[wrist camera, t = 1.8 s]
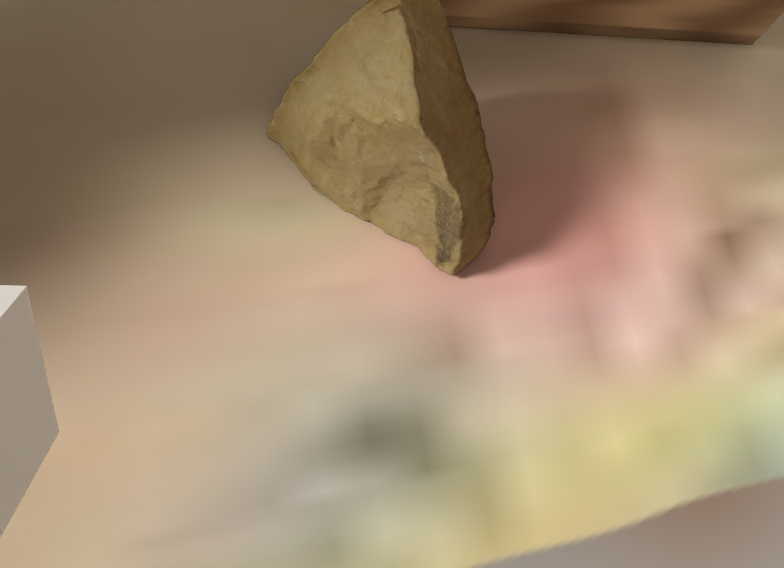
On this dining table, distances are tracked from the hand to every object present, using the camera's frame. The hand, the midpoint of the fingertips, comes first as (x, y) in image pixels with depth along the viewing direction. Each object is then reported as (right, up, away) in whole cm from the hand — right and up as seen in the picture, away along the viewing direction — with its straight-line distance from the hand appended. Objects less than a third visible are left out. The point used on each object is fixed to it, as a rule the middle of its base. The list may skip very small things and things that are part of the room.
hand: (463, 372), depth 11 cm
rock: (-2, +6, +22) cm, 23 cm away
